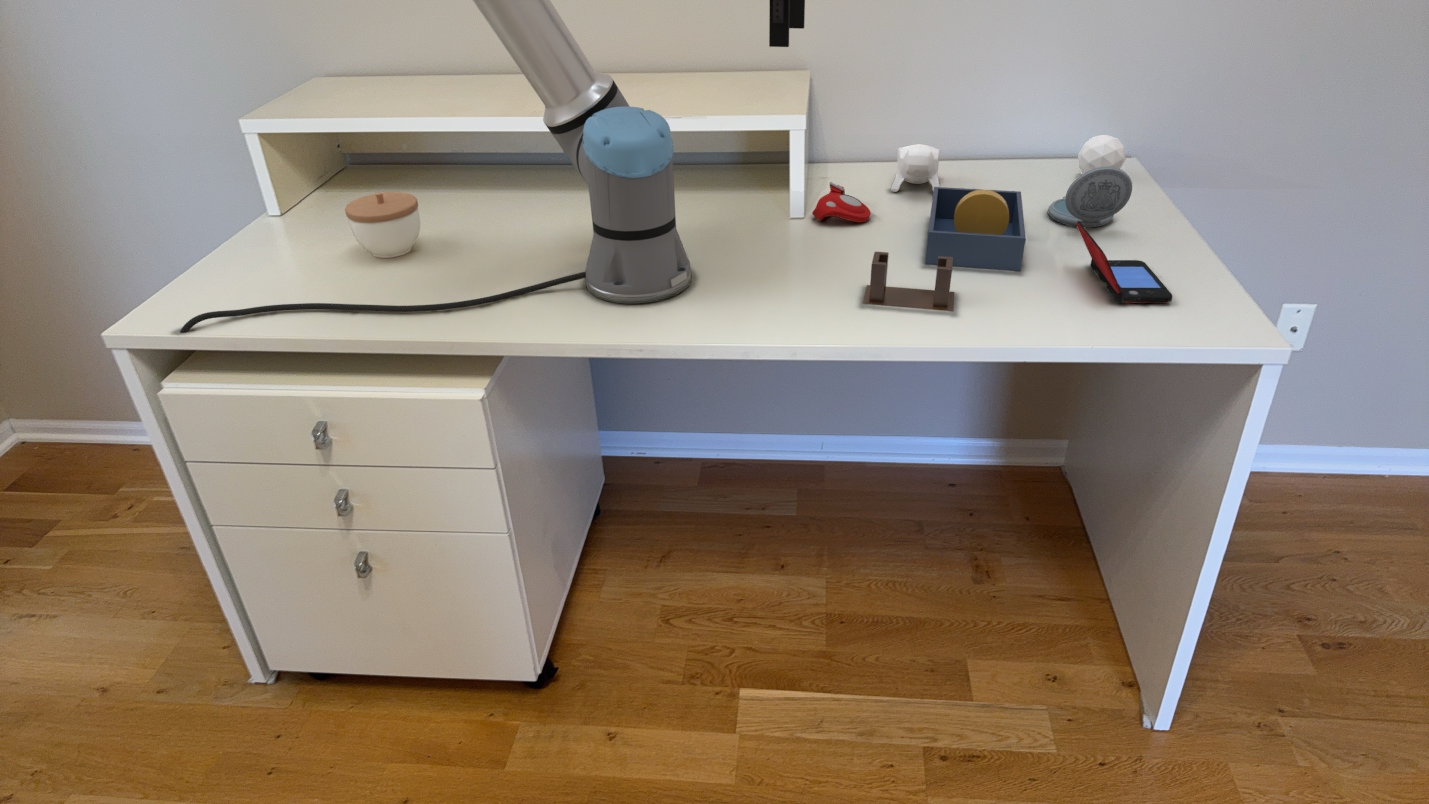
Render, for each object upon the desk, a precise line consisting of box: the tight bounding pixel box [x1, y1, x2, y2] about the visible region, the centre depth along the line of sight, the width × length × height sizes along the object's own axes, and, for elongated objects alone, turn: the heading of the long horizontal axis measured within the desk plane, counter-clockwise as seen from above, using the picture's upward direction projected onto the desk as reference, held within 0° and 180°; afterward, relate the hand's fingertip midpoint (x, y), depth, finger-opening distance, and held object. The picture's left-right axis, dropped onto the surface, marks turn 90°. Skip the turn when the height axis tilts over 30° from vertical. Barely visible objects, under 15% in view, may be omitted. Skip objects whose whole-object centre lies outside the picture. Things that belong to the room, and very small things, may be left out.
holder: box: [861, 251, 955, 312], centre depth 122 cm, size 12×6×6 cm, turn 76°
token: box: [954, 189, 1009, 235], centre depth 137 cm, size 2×8×8 cm, turn 76°
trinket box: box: [344, 191, 421, 259], centre depth 141 cm, size 11×11×9 cm
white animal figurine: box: [890, 143, 942, 193], centre depth 159 cm, size 8×8×15 cm
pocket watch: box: [1047, 167, 1133, 228], centre depth 144 cm, size 10×11×15 cm
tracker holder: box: [811, 181, 871, 223], centre depth 151 cm, size 12×4×10 cm
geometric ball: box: [1077, 133, 1126, 174], centre depth 161 cm, size 8×8×8 cm
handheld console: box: [1077, 221, 1174, 304], centre depth 124 cm, size 12×11×7 cm
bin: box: [924, 186, 1026, 272], centre depth 138 cm, size 19×13×6 cm
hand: (787, 37), depth 134 cm, fingers open, 13 cm apart
